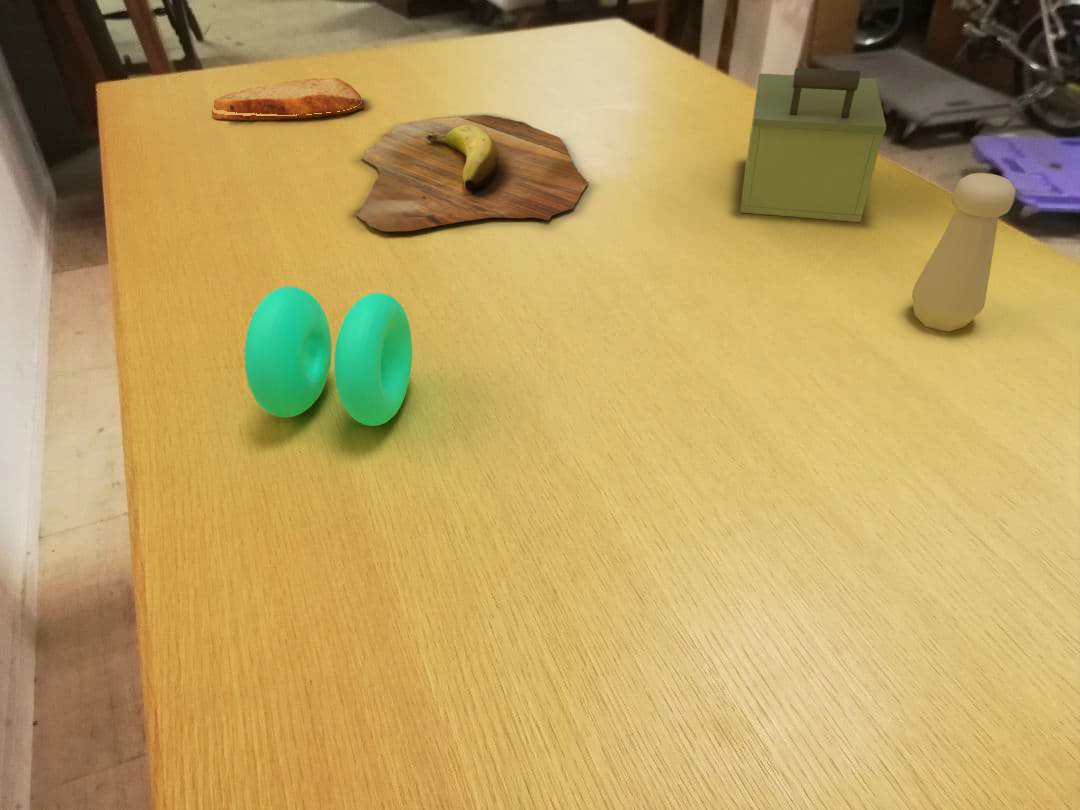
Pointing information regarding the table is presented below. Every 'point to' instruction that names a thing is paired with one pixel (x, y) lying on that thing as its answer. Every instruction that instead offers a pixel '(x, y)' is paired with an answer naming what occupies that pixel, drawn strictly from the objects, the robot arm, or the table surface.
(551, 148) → the cutting board
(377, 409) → the donuts
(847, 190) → the storage bin
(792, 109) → the box lid
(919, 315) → the salt shaker
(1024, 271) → the table surface
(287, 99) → the bread slice
